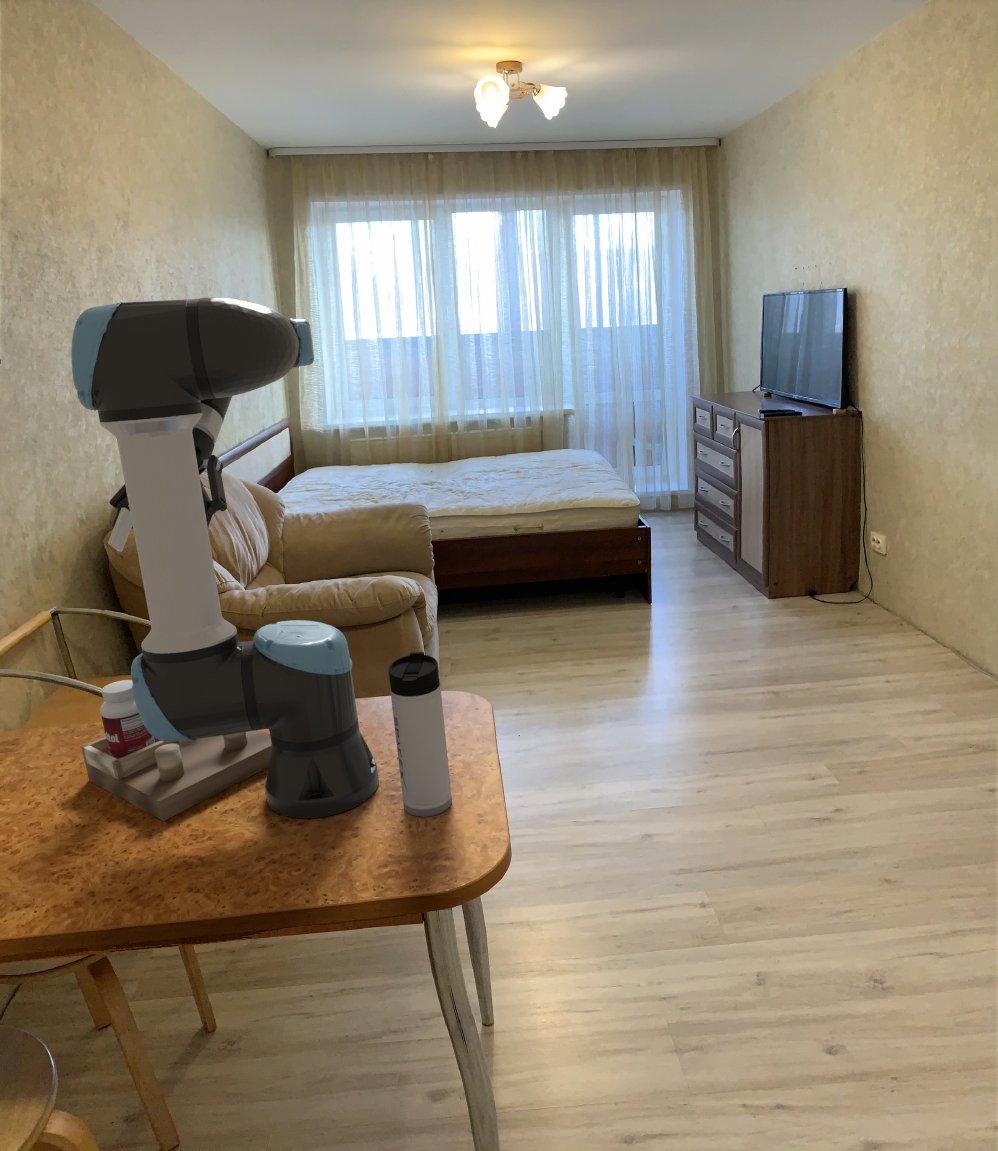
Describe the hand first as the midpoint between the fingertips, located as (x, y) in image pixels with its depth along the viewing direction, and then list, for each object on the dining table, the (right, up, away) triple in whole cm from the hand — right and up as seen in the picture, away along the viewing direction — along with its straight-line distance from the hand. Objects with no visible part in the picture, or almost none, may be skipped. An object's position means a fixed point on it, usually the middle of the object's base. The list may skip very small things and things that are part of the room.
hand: (151, 547), depth 137 cm
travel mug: (+44, -34, -22) cm, 60 cm away
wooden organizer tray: (+8, -33, -7) cm, 34 cm away
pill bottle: (+1, -31, -9) cm, 32 cm away
